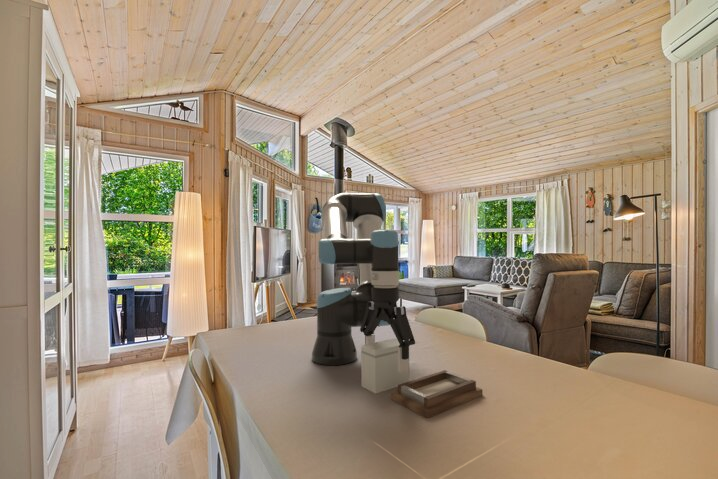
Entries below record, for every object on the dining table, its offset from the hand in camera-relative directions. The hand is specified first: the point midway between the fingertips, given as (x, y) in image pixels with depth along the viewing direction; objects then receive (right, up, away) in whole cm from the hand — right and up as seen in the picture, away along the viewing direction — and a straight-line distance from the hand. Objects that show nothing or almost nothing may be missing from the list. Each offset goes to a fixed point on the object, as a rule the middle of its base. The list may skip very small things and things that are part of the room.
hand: (385, 364), depth 97 cm
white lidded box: (0, -6, 0) cm, 6 cm away
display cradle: (+12, -5, -8) cm, 16 cm away
